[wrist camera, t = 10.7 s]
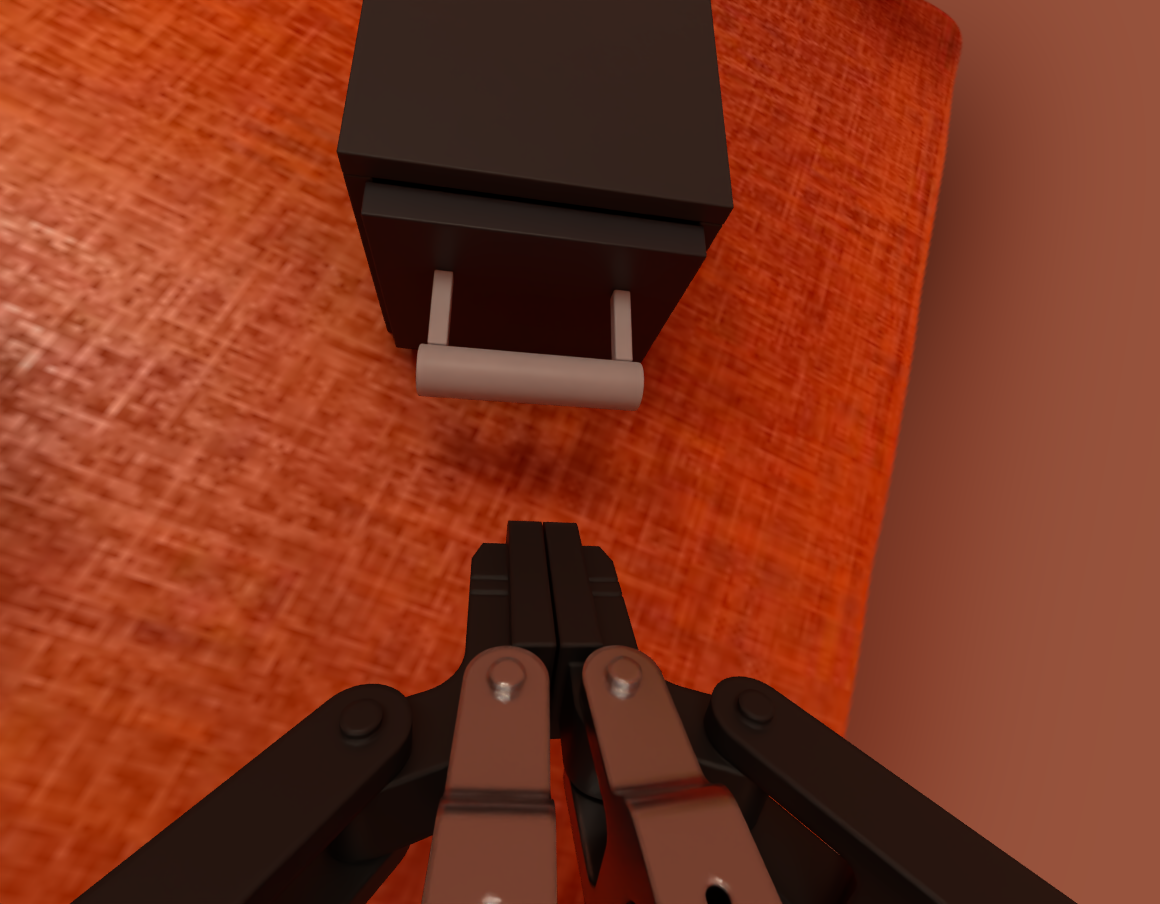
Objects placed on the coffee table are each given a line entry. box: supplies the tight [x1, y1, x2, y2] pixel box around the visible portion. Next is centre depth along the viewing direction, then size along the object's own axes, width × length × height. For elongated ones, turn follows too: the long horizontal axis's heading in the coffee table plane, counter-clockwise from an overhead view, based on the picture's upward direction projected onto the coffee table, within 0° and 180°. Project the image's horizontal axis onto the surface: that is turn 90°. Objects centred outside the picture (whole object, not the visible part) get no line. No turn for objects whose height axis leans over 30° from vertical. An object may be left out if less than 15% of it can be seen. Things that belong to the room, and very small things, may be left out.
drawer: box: [361, 181, 706, 411], centre depth 21 cm, size 17×10×8 cm, turn 0°
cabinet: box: [337, 0, 733, 332], centre depth 23 cm, size 14×12×10 cm
